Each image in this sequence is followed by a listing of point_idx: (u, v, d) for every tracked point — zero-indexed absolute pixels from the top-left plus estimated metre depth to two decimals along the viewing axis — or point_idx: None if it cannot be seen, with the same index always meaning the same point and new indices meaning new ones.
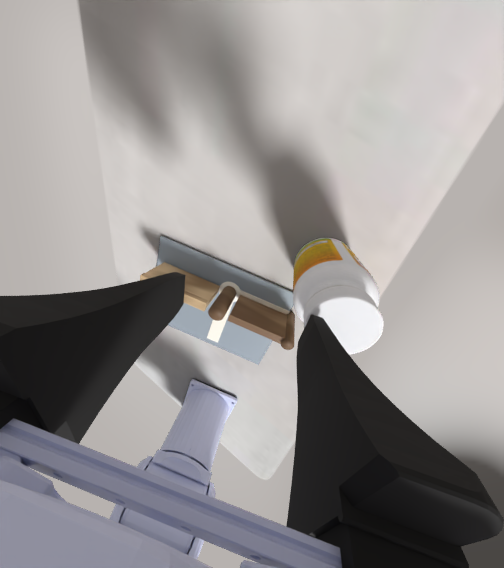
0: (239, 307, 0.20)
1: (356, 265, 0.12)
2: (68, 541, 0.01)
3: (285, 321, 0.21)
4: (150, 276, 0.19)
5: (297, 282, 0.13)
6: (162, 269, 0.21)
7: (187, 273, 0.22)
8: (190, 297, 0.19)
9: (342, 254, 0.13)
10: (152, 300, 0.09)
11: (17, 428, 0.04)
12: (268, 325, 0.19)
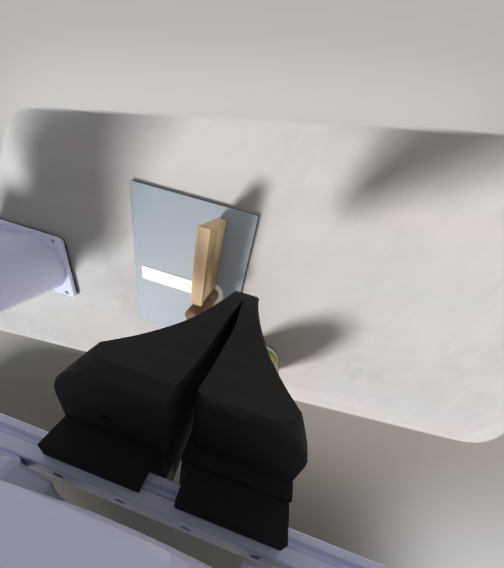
0: None
1: None
2: (68, 541, 0.01)
3: None
4: (211, 238, 0.14)
5: None
6: (219, 232, 0.16)
7: (220, 252, 0.18)
8: (202, 290, 0.16)
9: None
10: (229, 325, 0.08)
11: (158, 484, 0.04)
12: None
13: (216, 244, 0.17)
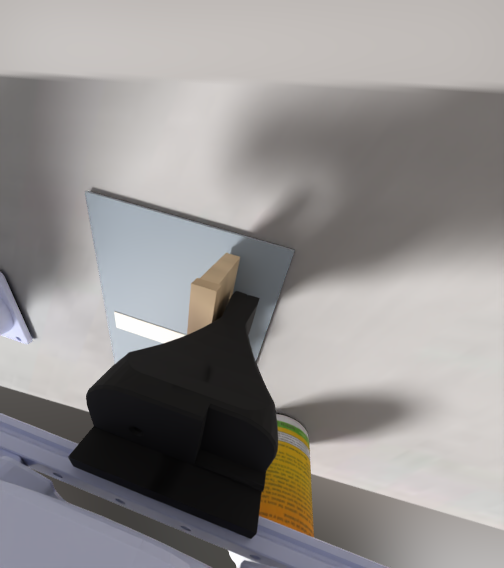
0: None
1: None
2: (68, 542, 0.01)
3: None
4: (217, 301, 0.08)
5: None
6: (230, 280, 0.10)
7: None
8: None
9: None
10: None
11: None
12: None
13: (225, 298, 0.10)
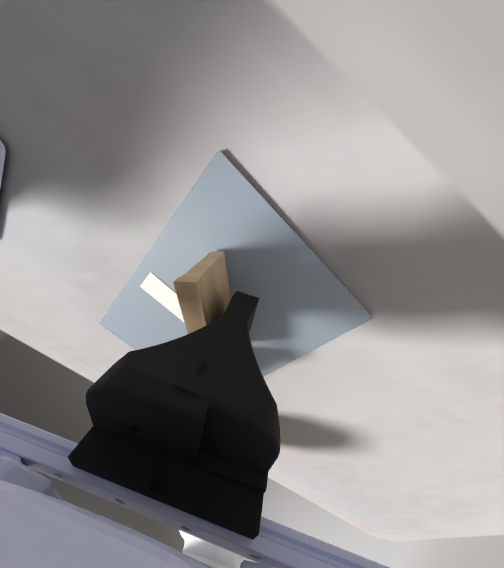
0: None
1: None
2: (68, 541, 0.01)
3: None
4: (203, 293, 0.08)
5: None
6: (217, 274, 0.10)
7: (229, 300, 0.12)
8: None
9: None
10: None
11: None
12: None
13: (219, 293, 0.10)
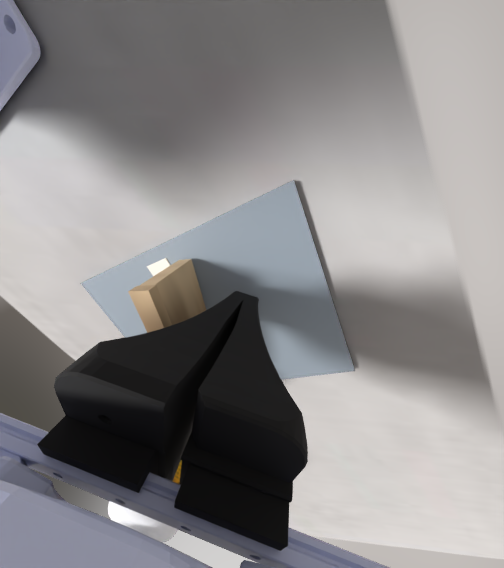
0: None
1: None
2: (68, 542, 0.01)
3: None
4: (160, 301, 0.08)
5: None
6: (182, 281, 0.10)
7: (202, 305, 0.12)
8: None
9: None
10: (229, 325, 0.08)
11: (158, 484, 0.04)
12: None
13: (186, 299, 0.10)
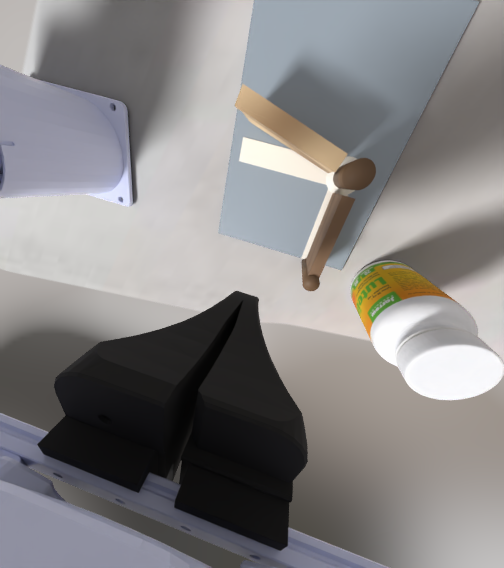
0: None
1: None
2: (68, 541, 0.01)
3: None
4: None
5: (450, 300, 0.11)
6: None
7: None
8: (322, 139, 0.11)
9: None
10: (229, 325, 0.08)
11: (158, 484, 0.04)
12: None
13: None
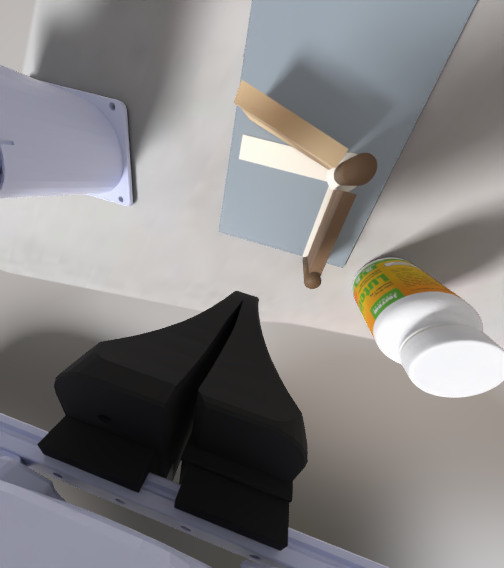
0: None
1: None
2: (68, 541, 0.01)
3: None
4: None
5: (454, 296, 0.11)
6: None
7: None
8: (322, 135, 0.11)
9: None
10: (229, 325, 0.08)
11: (158, 484, 0.04)
12: None
13: None
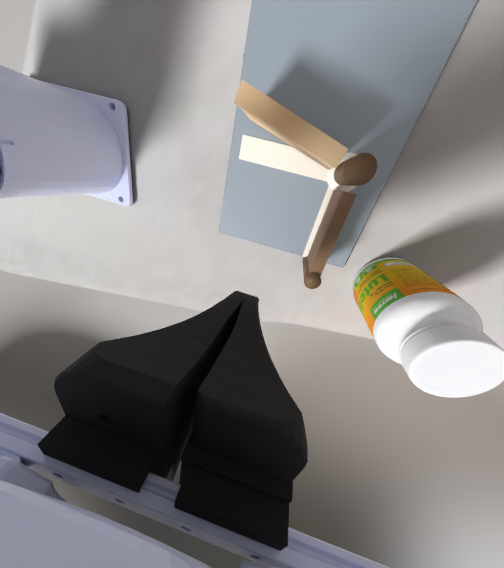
0: None
1: None
2: (68, 541, 0.01)
3: None
4: None
5: (454, 296, 0.11)
6: None
7: None
8: (322, 135, 0.11)
9: None
10: (229, 325, 0.08)
11: (158, 484, 0.04)
12: None
13: None
